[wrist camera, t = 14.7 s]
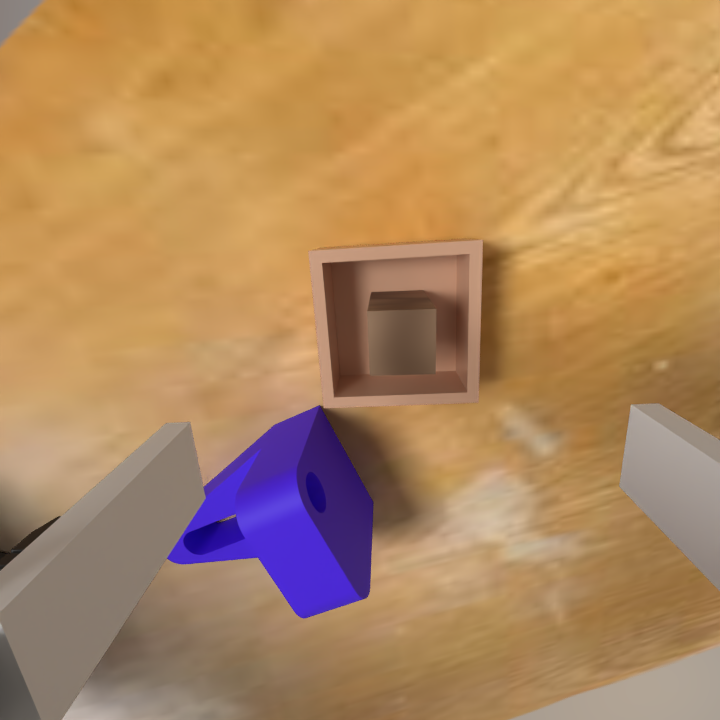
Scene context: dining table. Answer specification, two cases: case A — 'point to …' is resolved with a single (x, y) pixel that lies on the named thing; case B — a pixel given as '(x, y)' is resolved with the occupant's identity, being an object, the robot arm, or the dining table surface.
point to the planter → (397, 273)
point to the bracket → (290, 516)
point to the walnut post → (401, 333)
